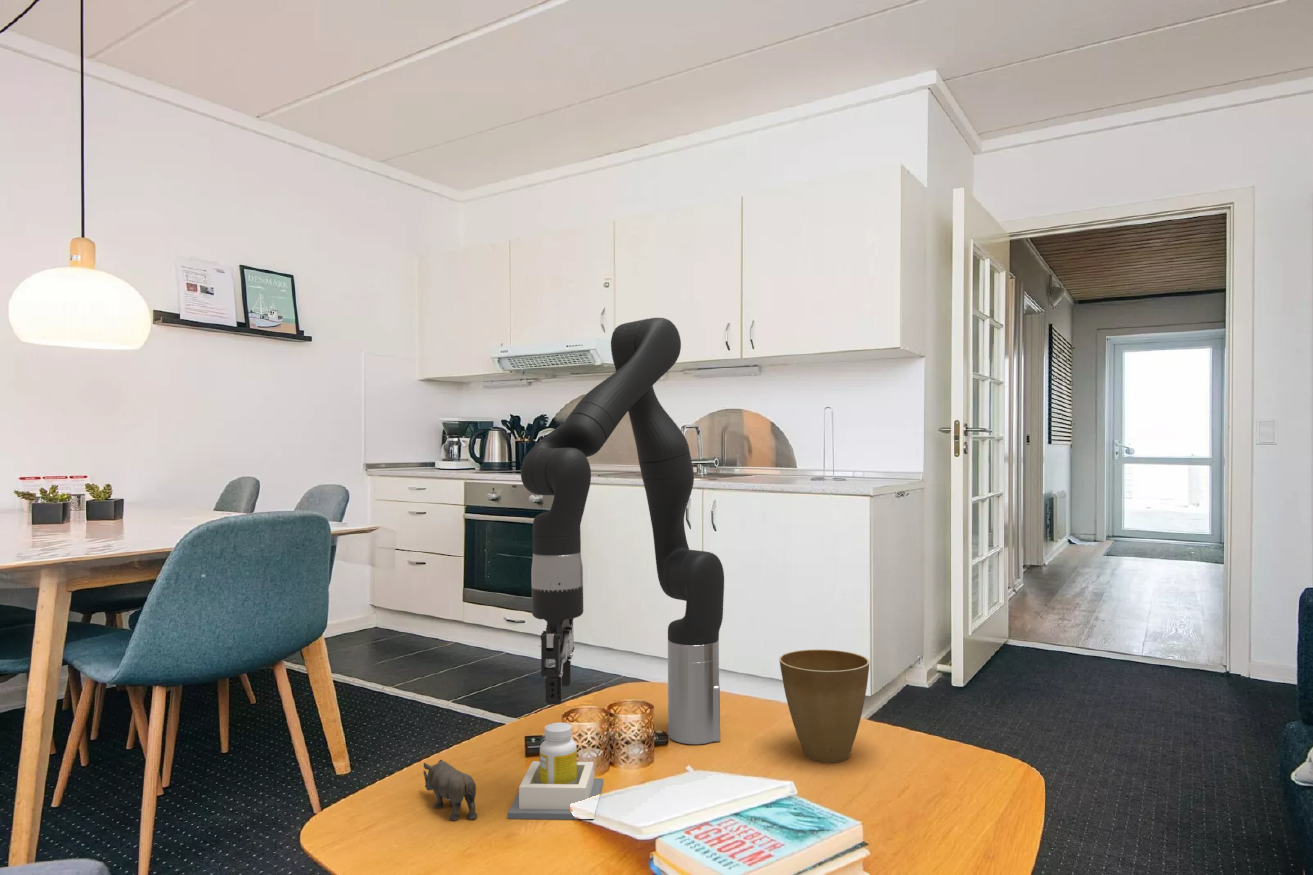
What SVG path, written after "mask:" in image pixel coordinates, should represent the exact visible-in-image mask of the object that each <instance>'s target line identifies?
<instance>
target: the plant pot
mask: <svg viewBox="0 0 1313 875" xmlns="http://www.w3.org/2000/svg"><path fill="white" fill-rule="evenodd" d="M778 660H779V665H780V666H779V667H780V673H781V679H782V685H783V688H784V695H785V697H786V699H785V700H786V702H787V705H788V710H789V714H790V716H791V721H792V724H793V727H794V730H795V734H796V736H797V738H798V742H799V744H800V747H801V749H802V751H803V754H804V755H805V757H806V758H807V759H810V760H812V761H816V762H821V763H839V762H840V763H841V762H842V761H843V762H844V761H845V760H847V759H848V758H849V756H850V754H851V752H852V749H853V746H854V743H855V740H856V738H857V737H856V736H857V733H858V730H859V726H860V724H861V718H862V715H863V714H862V713H863V710H864V705H865V699H866V693H867V688H868V682H869V670H870V659H868V658H867V657H866V656H863V655H861V654H858V653H854V652H851V651H850V652H849V651H844V650H835V649H802V650H801V649H800V650H795V651H789V652H787V653H784V654H782V655H780V657H779V659H778Z"/></svg>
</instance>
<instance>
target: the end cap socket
mask: <svg viewBox="0 0 1313 875" xmlns="http://www.w3.org/2000/svg"><path fill="white" fill-rule="evenodd" d="M602 786H604V778H601V777H599V778H598V777H597V778H595V762H594V761H577V784H540V760H539V761H537V760H536V761H535V760H532V762H531V763H530V765H529V768H528V769H527V771H526V773H525V775H524V777H523V778H522V781H521V783H520V785H519V787H518V792H517V794H516V796H515V798H514V799H513V800H514V801H513V802H512V804H511V806H510V808H509V810H508V811H507V820H508V819H514V820H561V821H563V820H564V819H565V820H566V821H568V820H570V821H571V820H572V819H574V821H579V820H578V819H577V818H575V817H574V816H573V815H572V813H571V812H570V804H571V803H575V802H578V801H582V800H585V799H587V798H590V797H592V796H596V795H598V794H602V791H601V790H603V787H602ZM572 821H573V820H572Z"/></svg>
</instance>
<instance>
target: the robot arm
mask: <svg viewBox="0 0 1313 875" xmlns="http://www.w3.org/2000/svg"><path fill="white" fill-rule="evenodd" d="M681 349H682V342H681V336H680V333H679V330H678V328H677V326H676V325H675V324H674V323H673V321H671V320H670V319H667V318H666V317H665V318H664V317H651V318H644V319H639V320H635V321H629V322H625V323H622V324H619V325H618V326H617V327H616V328H614V330H613V332H612V335H611V340H610V350H611V358H612V362H613V364H614V365H613V366H614V369H615V372H614V373H612V374H611V375H610V376H608V377H607V378H606V379H604V380H603V381H602V382H599V384H598V385H596V386H594V387H593V388H592V389H591V390H589V391H588V392H587V393H586V394H585V395H584V396H583V397H582V398H581V400H580V401H578V403H577V404H576V405H575V407H574V408H573V409H572V411H571V412H570V413H569V414H568V416H567V417H566V418H565V420H564V422H563V423H562V424H560V425H558V426H557V427H556V428H555V429H553V430H551V431H550V432H549V433H548V434H546V436H544V437H543V438H542V439H541V440H540V441H538V442H537V443H536V444H535V445H533V447H532V448H530V450H529V451H528V452H527V454H526V455H525V457H524V459H523V461H522V464H521V469H520V478H521V483H522V484H523V486H524V487H525V489H526V490H527V491H528V492H529V493H531V494H533V495H537V496H538V495H539V496H553V499H552V500H553V501H552V504H551V507H550V509H549V511H544V512H541V513H538V514H537V515H536V516H535V517H534V519H533V522H532V561H531V569H530V570H531V572H530V574H531V615H532V617H534V618H535V619H538V620H543V621H546V627H545V630H543V631H542V632H541V635H540V644H541V646H540V648H541V649H540V651H541V652H540V654H541V656H540V657H541V658H540V661H541V662H540V664H541V666H540V667H541V668H540V669H541V670H540V675H541V677H542V678H544V679H545V702H546V704H547V705H560V704H562V701H563V687H569V686H571V683H572V661H571V660H572V659H573V657H574V655H573V653H574V651H575V646H574V619H576V618H579V617H581V616H582V615H583V614H584V569H583V560H582V548H581V547H582V546H581V544H582V543H581V542H582V538H581V535H582V534H581V524H582V520H583V516H584V512H585V508H586V507H585V506H586V503H587V498H588V495H589V492H590V487H591V481H592V468H591V465H590V462H589V460H588V457H591V456H594V455H596V454H597V453H598V452H599V451H600V450H601V449H602V447H603V446H604V445H605V444H606V442H607V441H608V439H609V437H611V435H612V433H613V432H614V430H616V428H617V426H618V425H619V423H620V422H621V421H622V419H623V418H624V417H625V415H626V414H627V413H628V415H629V416H628V417H629V421H630V424H631V429H632V432H633V437H634V442H635V447H636V453H637V458H638V465H639V468H640V469H639V470H640V474H641V478H642V483H643V487H644V490H645V494H646V495H645V496H646V499H647V505H648V511H649V517H650V522H651V528H652V536H653V543H654V544H653V545H654V546H653V547H654V556H655V564H656V573H657V577H658V582H659V585H660V588H661V589H662V591H663V593H664V594H665V595H666V596H668V597H670V598H672V599H674V600H680V601H686V604H685V611H684V612H685V614H684V616H683V617H682V618H679V619H676V620H673V621H671V622H670V623H669V624H668V627H667V728H668V729H667V734H668V735H669V736H668V738H669V739H670V740H672V741H675V743H676V742H678V743H680V744H686V745H687V744H688V745H703V744H710V743H712V742H720V741H721V692H720V691H721V689H720V688H721V687H720V643H719V642H720V629H721V626H722V623H723V618H724V617H723V616H724V599H725V598H724V596H725V595H724V594H725V573H724V572H725V571H724V567H723V563H722V561H721V559H720V558H719V556H718V555H716V554H715V553H713V552H710V551H704V550H698V549H690V547H689V544H688V541H687V535H686V529H685V514H686V511H687V510H686V509H687V507H688V504H689V501H690V497H691V495H692V492H693V488H694V487H693V486H694V482H695V481H694V480H695V472H694V467H693V462H692V461H693V460H692V457H691V452H690V447H689V443H688V439H687V438H686V437H685V435H684V433H683V432H682V430H681V429H680V427H679V426H678V425H677V423H676V422H675V421H674V419H673V418H672V417H671V416H670V414H668V412H667V411H666V409H665V408H664V407H663V406H662V404H661V402H660V401H659V399H658V397H657V395H656V393H655V389H654V385H656V383H657V382H658V381H659V380H660V379H661V378H662V377H663V376H664V375H666V373H667V372H668V371H669V370H670V369H671V368H672V367H673V366H674V365H675V364H676V362H677V361H678V359H679V358H680V357H679V356H680V355H681ZM551 663H553V664H554V663H555V665H554V667H550V665H551Z"/></svg>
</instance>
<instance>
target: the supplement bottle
mask: <svg viewBox="0 0 1313 875" xmlns="http://www.w3.org/2000/svg"><path fill="white" fill-rule="evenodd" d="M572 736H573V726H572V725H571V723H567V722H552V723H549V724H547V725H545V727H544V739H545V740H544V741H542V742H541V744H540V746H539V761H540V784H577V762H578V758H577V757H578V755H577V754H578V753H577V746H578V745H577V743H576V741H575V739H572Z"/></svg>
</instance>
